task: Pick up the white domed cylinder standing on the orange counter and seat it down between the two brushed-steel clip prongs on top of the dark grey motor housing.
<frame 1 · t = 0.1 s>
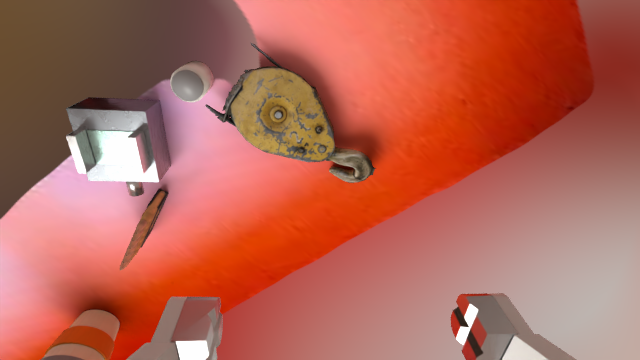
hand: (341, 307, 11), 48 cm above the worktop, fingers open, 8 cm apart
white domed cylinder: (197, 77, 53), on the worktop
reusable coffee cup: (99, 321, 79), on the worktop
pulley block: (302, 127, 59), on the worktop
ammunition clip: (155, 210, 65), on the worktop
motor: (132, 133, 57), on the worktop
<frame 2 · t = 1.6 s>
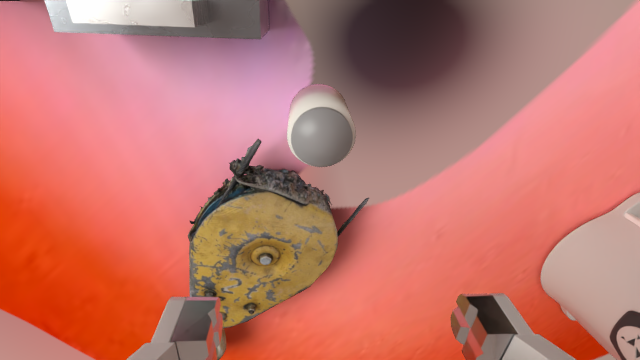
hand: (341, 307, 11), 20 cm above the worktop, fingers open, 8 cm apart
white domed cylinder: (318, 113, 29), on the worktop
pulley block: (240, 259, 37), on the worktop
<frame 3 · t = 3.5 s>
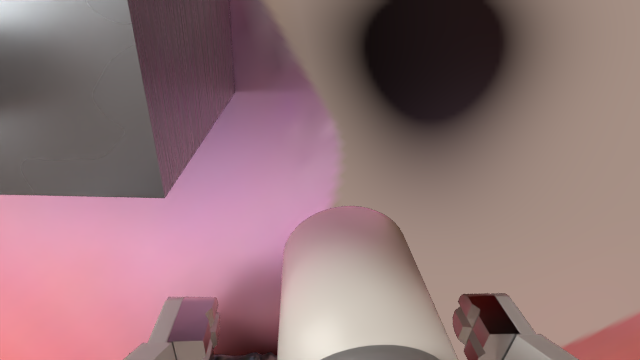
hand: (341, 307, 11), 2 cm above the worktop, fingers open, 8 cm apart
white domed cylinder: (345, 257, 13), on the worktop
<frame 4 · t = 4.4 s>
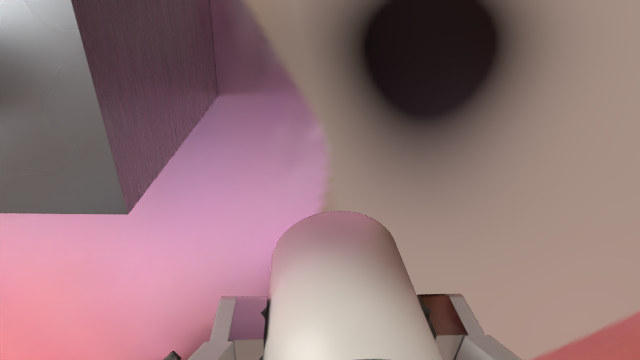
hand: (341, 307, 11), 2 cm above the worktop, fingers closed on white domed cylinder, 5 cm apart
white domed cylinder: (335, 263, 13), on the worktop, touching gripper
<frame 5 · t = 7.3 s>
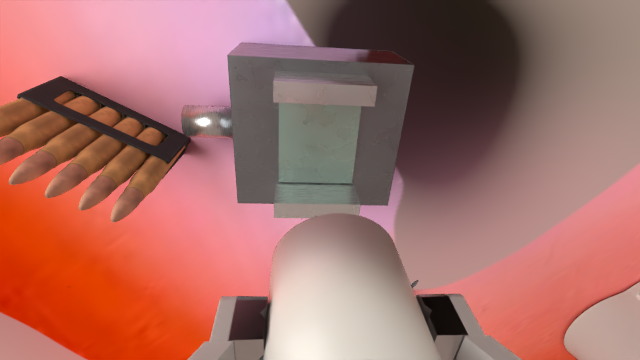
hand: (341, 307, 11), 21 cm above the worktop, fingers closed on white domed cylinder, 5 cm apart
white domed cylinder: (334, 265, 13), point 18 cm above the worktop, touching gripper
ammunition clip: (127, 116, 29), on the worktop
motor: (314, 113, 29), on the worktop
when the fingers open (9 cm above the worktop, at t = 10.1 s): white domed cylinder stays where it is, resting on motor.
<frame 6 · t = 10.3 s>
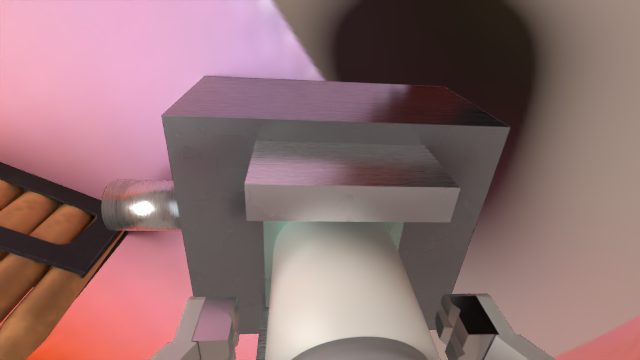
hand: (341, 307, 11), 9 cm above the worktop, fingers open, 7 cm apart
white domed cylinder: (333, 253, 14), point 6 cm above the worktop, touching motor
ammunition clip: (35, 185, 19), on the worktop
motor: (321, 178, 19), on the worktop
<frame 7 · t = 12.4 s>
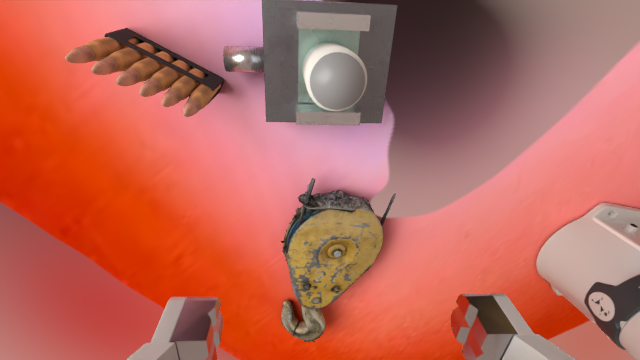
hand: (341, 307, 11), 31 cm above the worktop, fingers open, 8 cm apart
white domed cylinder: (328, 69, 32), point 6 cm above the worktop, touching motor
pulley block: (318, 258, 52), on the worktop
ammunition clip: (175, 61, 36), on the worktop
motor: (321, 57, 37), on the worktop
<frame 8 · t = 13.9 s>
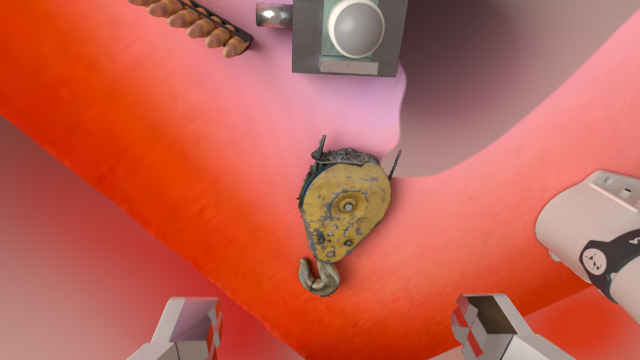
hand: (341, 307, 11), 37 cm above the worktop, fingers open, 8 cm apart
white domed cylinder: (350, 23, 35), point 6 cm above the worktop, touching motor
pulley block: (331, 217, 56), on the worktop
ammunition clip: (209, 19, 40), on the worktop
motor: (342, 18, 41), on the worktop
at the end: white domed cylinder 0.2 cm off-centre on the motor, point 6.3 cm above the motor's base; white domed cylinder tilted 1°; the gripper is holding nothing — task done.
